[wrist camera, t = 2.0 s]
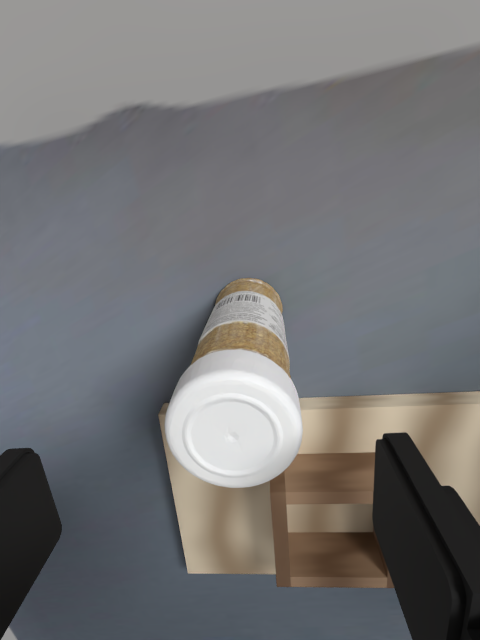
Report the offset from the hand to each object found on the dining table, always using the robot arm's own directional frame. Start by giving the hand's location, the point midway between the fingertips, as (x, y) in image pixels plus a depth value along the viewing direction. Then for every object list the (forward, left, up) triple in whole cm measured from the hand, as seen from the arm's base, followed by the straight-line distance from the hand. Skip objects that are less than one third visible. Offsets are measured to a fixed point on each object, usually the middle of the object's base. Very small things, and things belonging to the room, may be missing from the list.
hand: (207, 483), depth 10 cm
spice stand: (-6, +15, -15) cm, 22 cm away
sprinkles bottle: (-1, 0, -15) cm, 15 cm away
